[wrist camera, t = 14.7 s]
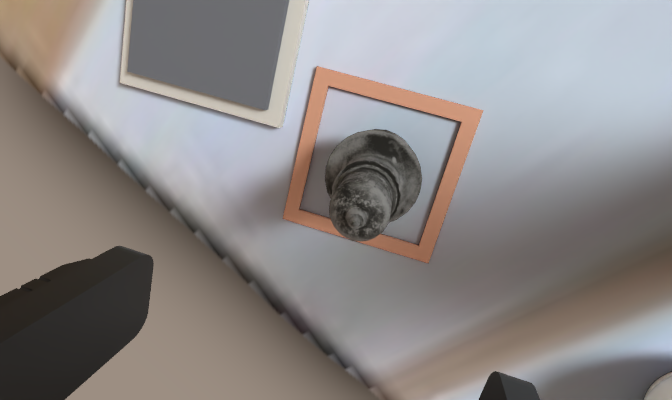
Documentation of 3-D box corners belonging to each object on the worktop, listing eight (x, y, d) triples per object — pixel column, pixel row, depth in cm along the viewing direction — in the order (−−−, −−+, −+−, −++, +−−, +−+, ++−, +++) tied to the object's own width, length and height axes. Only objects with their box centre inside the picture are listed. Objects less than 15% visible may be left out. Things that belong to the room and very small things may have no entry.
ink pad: (322, -66, 25) (317, -75, 23) (282, 127, 28) (275, 129, 27) (143, -108, 26) (127, -119, 24) (127, 82, 29) (112, 82, 28)
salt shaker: (349, 217, 29) (310, 301, 18) (324, 139, 28) (264, 175, 17) (430, 196, 28) (444, 273, 16) (407, 113, 27) (404, 133, 15)
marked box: (482, 110, 26) (483, 110, 25) (428, 261, 29) (428, 263, 29) (317, 66, 27) (316, 66, 26) (283, 217, 30) (282, 218, 30)
